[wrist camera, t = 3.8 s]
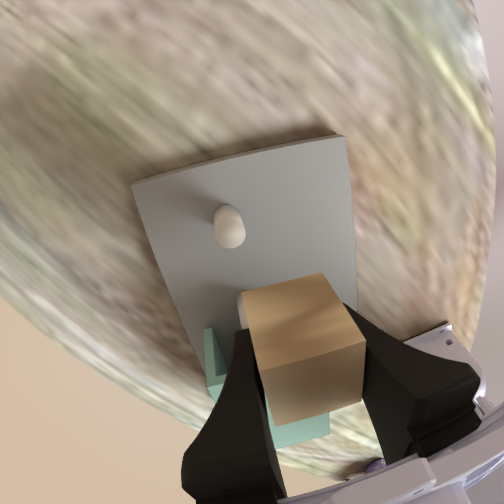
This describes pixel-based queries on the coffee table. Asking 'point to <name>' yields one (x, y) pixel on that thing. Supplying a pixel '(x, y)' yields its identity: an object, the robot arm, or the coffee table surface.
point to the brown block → (305, 348)
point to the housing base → (249, 230)
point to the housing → (280, 434)
